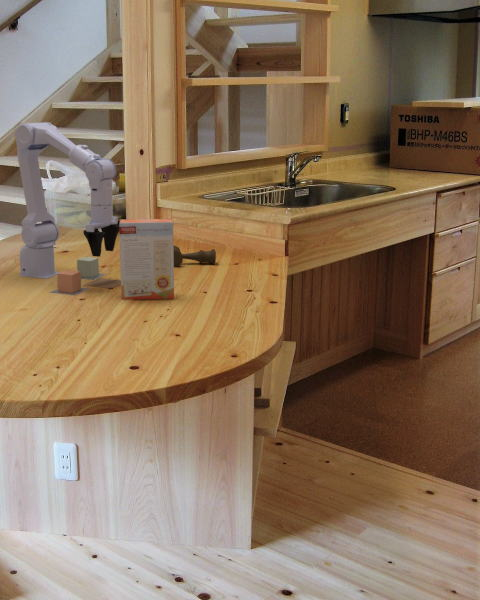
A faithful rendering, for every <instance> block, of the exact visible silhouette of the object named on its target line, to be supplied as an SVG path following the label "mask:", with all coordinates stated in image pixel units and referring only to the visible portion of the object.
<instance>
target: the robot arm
mask: <svg viewBox="0 0 480 600" xmlns="http://www.w3.org/2000/svg"><path fill="white" fill-rule="evenodd" d="M14 138H15V143H16V154H17V160H18V167H19V172H20V177H21V183H22V188H23V194H24V199H25V205H26V211H27V215H26V216H25V217H24V218H23V219H22V221H21V228H22V229H21V239H22V241H23V243H24V245H23V246H22V247H21V248H20V251H19V265H20V267H19V268H20V273H19V274H18V275H19V277H26V278H33V279H35V278H36V279H47V280H48V279H50V278H53V277H56V276H57V274H58V273H60V272H61V271H57V270H56V269H55V266H56V265H55V246H56V241H58V239H59V237H60V230H59V227H58V225H57V224H56V221H55V216H54V215H52V214H51V213H50V212H48V209H47V205H46V204H47V203H46V197H45V193H44V186H43V180H42V175H41V168H40V164H39V156H40V154H41V153H42V152H43V151H44V150H46V149H47V148H48V147H49V146H52V147H54V148H55V149H57V150H59V151H61V152H62V153H64V154H65V155H67V156H68V159H69V162H70V163H71V164H72V165H73V166H76V168H78V169H80V170H81V171H82V172H83V173H84V174H85V176H86V178H87V180H88V186H89V188H90V206H91V207H90V210H91V214H90V215H91V220H90V221H89V222H88V223H87V224H85V229H84V230H83V236H84V237H85V238H86V240H87V243H88V246H89V248H90V252H91V254H92V255H91V257H96V258H99V257H101V254H102V246H103V245H102V244H103V243H104V249H105V251H106V252H114V248H115V245H116V240H117V237H118V234H119V233H120V231H119V224H118V221H119V220H118V219H119V217H118V216H114V215H113V179H115V177H116V175H117V167H116V164H115V163H114V161H113V160H112V159H111V158H108V157H107V158H103V157H101V155H100V154H99V153H97V154H96V153H95V152H94V151H92V150H91V149H89V146H88V145H87V144H77V145H76V144H75V143H74V142H73V141H71V140H70V139H69V138H68V137H66V136H65V135H64V134H63V133H61V131H59V130H58V128H57V126H55V125H53V123H51V122H50V121H44V122H22V123H20V124H19V125H18V126H17V128H16V130H14ZM100 230H101V231H100Z"/></svg>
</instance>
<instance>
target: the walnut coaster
mask: <svg viewBox="0 0 480 600" xmlns="http://www.w3.org/2000/svg"><path fill="white" fill-rule="evenodd" d="M84 286H86V287H94V288H95V287H96V288H104V289H115V288H116V287H118V286H121V279H111V278H102V277H99V278H97V279H95V280H91V281H90V282H86V284H84Z"/></svg>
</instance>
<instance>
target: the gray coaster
mask: <svg viewBox="0 0 480 600" xmlns="http://www.w3.org/2000/svg"><path fill="white" fill-rule="evenodd" d="M104 276H107V273H100V272H99V275H97V276H95V277H92V278H86V277H81V280H90V281H94V280H96V279H98V278H102V277H104Z"/></svg>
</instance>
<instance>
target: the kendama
mask: <svg viewBox="0 0 480 600" xmlns="http://www.w3.org/2000/svg"><path fill="white" fill-rule="evenodd" d="M173 251H174V268H179V267H181V265H182V264H183V260H184V259H185V260H189V261H190V260H191V261H196V262H199V263H200V264H204V263H209V264H211V265H212V266H213V265H214V266H215V264H216V260H217V254H216V250H215V249H213V248H212V249H211V250H207V251H205V250H203V249H200V250H199V251H195V252H191V253H190V252H188V253H182V252H181V248H180V247H178V246H177V245H175V244H173Z"/></svg>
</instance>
